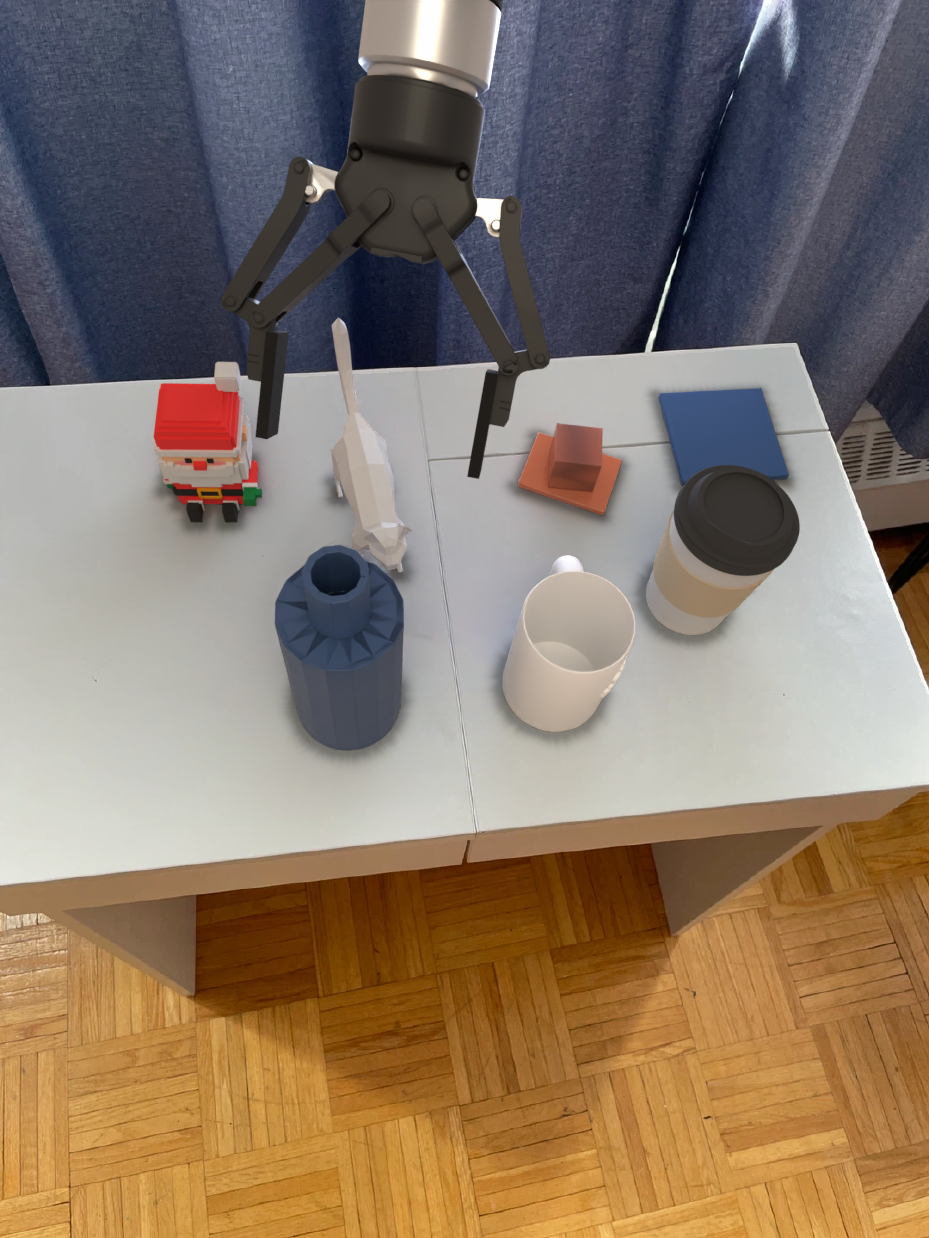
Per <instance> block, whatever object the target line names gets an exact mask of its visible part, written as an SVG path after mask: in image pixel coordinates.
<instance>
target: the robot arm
mask: <svg viewBox="0 0 929 1238" xmlns="http://www.w3.org/2000/svg"><path fill="white" fill-rule="evenodd" d="M503 6H504V0H365V3H364V11H363V18H362V26H361V33H360V41H359V50H358V57H357V61H358V64H359V65H360V66H361V68H362V69H363V70H364V72H366V73H367V75H364V76H361V77H360V78H359V80H358V81H357V82H355V85H354V93H353V102H352V110H351V118H350V127H349V136H348V143H347V152H346V157H345V160H344V162H343V164H342V166H341V168H340V169H339V171H336V170H332V169H330V168H327V167H324V166H321V165H317V164H315V163H313V162H312V161H310V160H308V159H307V158H305V157H303V156H295V157H293V158H292V159H291V160H290V163H289V165H288V170H287V175H286V180H285V185H284V189H283V194H282V196H281V198H280V199H279V201H278V203H277V204H276V206H275V208H274V209H273V211H272V212H271V214H270V215H269V217H268V219H267V221H266V223H265V224H264V225H263V227H262V229H261V231H260V232H259V234H258V236H257V237H256V238H255V240H254V242H253V244H252V245H251V247H250V248H249V251H248V252H247V254H246V256H245V257H244V259H243V260H242V262H241V264H240V265H239V267H238V269H237V270H236V272H235V273H234V275H233V277H232V279H231V280H230V282H229V283H228V285H227V287H226V288H225V290H224V291H223V293H222V295H221V298H220V304H221V306H222V308H223V309H224V310H225V311H227V312H229V313H233V314H235V315H236V316H238V317H239V318H241V319H243V321H245V322H246V324H247V325H248V329H249V337H248V346H247V347H248V348H247V356H246V357H247V358H246V367H245V373H246V376H247V380H249V381H256V382H260V386H259V397H258V405H257V416H256V426H255V427H256V428H255V436H254V437H255V438H257V439H264V440H269V439H270V438H272V437H274V436H277V435H278V434H279V426H280V417H281V410H282V409H281V408H282V401H283V399H282V398H283V390H284V382H285V380H284V379H285V372H286V361H287V353H288V344H289V333H290V332H289V331H286V330H280V329H276V327H278V326H279V323H280V322H281V321H282V320H283V319H284V318H286V316H287V315H288V314H289V313H290V312H291V311H292V310H294V308H296V307H297V306H298V305H299V304H300V303H301V302H302V301H304V299H306V297H307V296H308V295H310V293H312V292H313V291H314V290H315V289H316V288H317V287H318V286H320V284H321V283H322V282H323V281H324V280H326V278H327V277H329V276H330V275H331V274H332V273H333V272H335V270H337V268H338V267H339V266H340V265H342V264H343V263H344V262H345V261H346V260H347V259H348V258H351V256H353V255H354V254H355V253H356V252H357V251H359V250H360V249H361V247H362V248H363V249H364V250H365V251H366V252H368V253H369V254H370V255H374V256H378V257H384V258H398V257H400V258H402V259H405V260H406V261H409V262H411V263H414V264H415V263H416V264H421V265H426V264H430V263H433V262H435V261H436V260H438V261H439V263H440V264H441V266H442V267H443V270H444V271H445V273H446V274H447V276H448V278H449V279H450V281H451V283H452V285H453V286H454V287H453V288H455V291H457V294H458V296H459V298H460V299H461V301H462V302H463V305H464V307H465V308H466V311H467V312H468V314H469V315H470V317H471V319H472V321H473V323H474V325H475V326H476V328H477V330H478V332H479V334H480V335H481V337H482V339H483V341H484V343H485V344H486V346H487V348H488V350H489V352H490V353H491V356H492V357H493V359H494V361H495V362H496V364H497V366H498V369H497V370H496V369H491V368H490V369H489V368H487V369H486V370H485V374H484V379H483V385H482V392H481V396H480V402H479V407H478V412H477V420H476V424H475V430H474V436H473V442H472V449H471V452H470V460H469V464H468V470H467V475H466V477H467V478H472V479H477V480H479V479H480V476H481V473H482V468H483V463H484V457H485V451H486V447H487V441H488V436H489V429H490V425H491V426H496V427H501V428H505V427H506V425H507V423H508V421H509V420H510V414H511V410H512V404H513V399H514V393H515V388H516V383H517V379H518V378H519V376H520V375H522V374H523V373H525V372H529V371H535V370H543V369H546V368H547V367H548V366H549V364H550V362H551V355H550V350H549V348H548V343H547V340H546V336H545V333H544V327H543V324H542V320H541V317H540V312H539V308H538V305H537V302H536V297H535V293H534V290H533V286H532V281H531V279H530V274H529V270H528V267H527V263H526V258H525V256H524V251H523V248H522V243H521V231H522V220H523V219H522V217H523V206H522V202H521V200H520V198H518V196H514V195H508V196H506V197H505V198H503V199H502V198H488V197H477V194H476V190H475V179H476V172H477V164H478V158H479V153H480V146H481V142H482V141H481V140H482V134H483V128H484V121H485V115H486V109H485V108H484V107H483V103H482V101H480V99H479V97H478V96H482V95H483V94H484V93H486V92H487V91H489V90H490V85H491V79H492V72H493V68H494V67H493V66H494V60H495V54H496V48H497V42H498V35H499V29H500V24H501V23H500V22H501V16H502V11H503ZM330 192H335V195H336V197H337V199H338V202H339V203H340V205H341V207H342V210H343V212H344V214H345V216H346V217H345V218H344V219H343V220H342V222H340V223H339V224H338V225H337V226H336V227H335V228H334V229H333V230H331V232H330V233H329V234H328V235H327V236H326V238H325V240H324V241H323V242H321V244H319V246H317V248H315V249H314V250H313V251H312V253H310V254H309V255H308V256H307V257H306V258H305V259H304V260H303V261H302V262H301V263H300V264H299V265H298V266H296V267H295V269H293V270H292V271H291V272H290V273H289V274H288V275H287V276H286V277H284V278H283V279H282V281H280V283H279V284H277V286H275V287H274V288H273V289H272V290H271V291H270V292H269V293H268V294H267V295H266V296H265V297H264V298H263V299H262V300H261V301H260V300H257V297H258V296H259V294H260V293H261V291H262V289H263V288H264V286H265V285H266V283H267V281H268V279H270V276H271V275H272V273H273V271H274V270H275V268H276V267H277V265H278V263H279V262H280V260H281V259H282V257H283V255H284V254H285V252H286V250H287V249H288V248H289V246H290V244H291V242H292V241H293V239H294V238H295V236H296V234H297V233H298V231H299V229H300V228H301V226H302V225H303V224H304V222H305V220H306V218H307V216H308V215H309V212H310V211H311V208H312V205H319V204H321V203H322V202H323V201H324V199H325V198H326V196H327V194H328V193H330ZM476 218H478V219H482V220H483V221H484V223H485V226H486V227H485V228H486V230H487V233H488V235H490V236H491V237H492V238H495V239H499V246H500V247H499V248H500V251H501V256H502V259H503V265H504V268H505V271H506V275H507V278H508V282H509V286H510V290H511V293H512V298H513V301H514V304H515V308H516V312H517V317H518V320H519V323H520V327H521V331H522V336H523V338H524V342H525V346H526V349H521V350H517V351H516V350H515V349H514V347H513V345H512V343H511V341H510V340H509V338H508V336H507V334H506V332H505V331H504V329H503V326H502V325H501V323H500V320H499V319H498V318H497V316H496V314H495V312H494V310H493V308H492V306H491V304H490V303H489V301H488V299H487V297H486V296H485V294H484V292H483V290H482V287H481V286H480V284H479V283H478V281H477V279H476V278H475V274H473V272H472V270H471V268H470V266H469V264H468V262H467V260H466V258H465V256H464V255H463V253H462V251H461V249H460V247H459V246H458V244H457V239H459V237H460V236H461V235H462V234H463V233H464V232H465V231H466V230H467V229H468V227H470V226H471V225H472V223H474V222H475V220H476Z"/></svg>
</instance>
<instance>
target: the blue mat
mask: <svg viewBox="0 0 929 1238" xmlns="http://www.w3.org/2000/svg"><path fill="white" fill-rule="evenodd" d="M658 400H659V404H660V408H661V411H662V415H663V418H664V423H665V426H666V431H667V434H668V438H669V442H670V446H671V451H672V453H673V457H674V462H675V465H676V469H677V474H678V476H679V480H680V484H681V486H684V485H685V483H686V482H687V481H688V480H689V478H691V477H692V476H693V475H694V474H696V473H697V472H699V471H701V470H703V469H705V468H708V467H712V466H718V465H735V466H741V467H745V468H749V469H752V470H755V471H758V472H760V473H762V474H764V475H766V476H768V477H769V478H771V479H772V480H773V481H775V480H787V479H788V478H789V476H790V473H789V470H788V467H787V464H786V461H785V458H784V454H783V451H782V448H781V445H780V442H779V439H778V436H777V433H776V430H775V427H774V424H773V420H772V418H771V415H770V410H769V407H768V405H767V402H766V398H765V395H764V393H763V389H762V388H761V387H756V388H736V389H718V390H717V389H716V390H696V391H679V392H677V391H675V392H660V393H659V395H658Z"/></svg>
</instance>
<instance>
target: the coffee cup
mask: <svg viewBox="0 0 929 1238" xmlns="http://www.w3.org/2000/svg"><path fill="white" fill-rule="evenodd" d="M800 525H801V524H800V518H799V513H798V511H797V508H796V506H795V504H794V502H793V500H792V499H791V497H790V496H789V495H788V493H787V492H786V490H784V489H783V488H782V486H780V485H779V484H778V483H777V482H776V481H775V480H772V479H771V478H769V477H768V476H766V475H764V474H762V473H760V472H758V471H755V470H752V469H749V468H745V467H741V466H735V465H718V466H712V467H708V468H705V469H703V470H701V471H699V472H697V473H696V474H694V475H693V476H692V477H691V478H689V480H688V481H687V482H686V483H685V485H682V488H680V490H679V492H678V494H677V496H676V499H675V501H674V506H673V510H672V512H671V514H670V516H669V518H668V521H667V524H666V527H665V529H664V532H663V535H662V538H661V541H660V543H659V545H658V549H657V551H656V554H655V557H654V560H653V567H652V571H651V573H650V576H649V579H648V581H647V584H646V589H645V600H646V603H647V606H648V609H649V612H651V614H652V615H653V617H654V618H655V619H656V620H657V621H658V622H659V623H660V624H661V625H662V626H663V627H665V628H667V629H669V630H670V631H672V632H674V633H678V634H682V635H687V636H699V635H703V634H706V633H708V632H711V631H713V630H714V629H716V628H717V626H719V624H721V623H722V621H723V620H725V618H727V616H728V615H729V614H730V613H732V612H734V611H735V610H736V609H738V607H740V606H741V605H742V604H743V603H744V601H746V600H747V599H748V598H749V597H750V595H751V594H752V593H753V592H755V591H756V590H757V589H758V588H759V586H760V585H762V583H764V581H766V580H767V579H768V577H770V575H771V574H772V573H773V572H774V570H775V569H777V568H778V567H780V566H781V565H783V564H784V563H785V562H786V561H787V559H788V558H789V557H790V556H791V554H792V552H793V550H794V548H795V546H796V544H797V543H798V539H799V536H800V532H801V531H800V530H801V529H800V528H801V526H800Z"/></svg>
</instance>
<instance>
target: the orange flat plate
mask: <svg viewBox="0 0 929 1238" xmlns="http://www.w3.org/2000/svg"><path fill="white" fill-rule="evenodd" d="M552 439H553V436H551V435H549V434H545V433H542V432H539V431H538V432H537V434H536V437H535V439H534V441H533V443H532V446H531V449H530V452H529V454H528V457H527V459H526V462H525V464H524V467H523V469H522V471H521V474H520V477H519V480H518V482H517V487H518V488H520V489H523V490H526V491H530V492H532V493H535V494H538V495H541V496H544V497H546V498H550V499H553V500H556V501H559V502H561V503H564V504H568V505H570V506H573V507H576V508H580V509H582V510H585V511H589V512H591V513H593V514H597V515H600V516H605V512H606V509H607V506H608V503H609V501H610V499H611V495H612V492H613V489H614V486H615V483H616V480H617V477H618V474H619V471H620V468H621V465H622V463H623V459H621V458H618V457H615V456H611V455H609V454H606V453H603V452H602V467H601V470H600V473H599V476H598V478H597V481H596V484H595V487H594V490H593V492H586V491H577V490H568V489H559V488H550V487H548V472H549V452H550V447H551V443H552Z"/></svg>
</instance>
